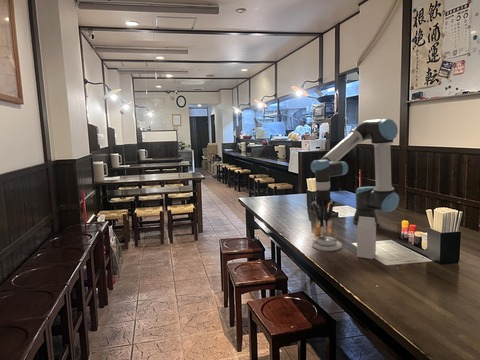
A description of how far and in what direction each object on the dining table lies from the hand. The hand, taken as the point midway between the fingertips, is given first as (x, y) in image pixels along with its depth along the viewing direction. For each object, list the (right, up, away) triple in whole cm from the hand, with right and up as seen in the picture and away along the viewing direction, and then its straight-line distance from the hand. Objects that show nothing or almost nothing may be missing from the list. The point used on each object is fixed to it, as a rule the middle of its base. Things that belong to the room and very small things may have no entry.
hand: (323, 232), depth 187 cm
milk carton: (+15, -8, -21) cm, 27 cm away
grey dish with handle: (-1, -5, -5) cm, 7 cm away
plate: (0, -6, -6) cm, 9 cm away
